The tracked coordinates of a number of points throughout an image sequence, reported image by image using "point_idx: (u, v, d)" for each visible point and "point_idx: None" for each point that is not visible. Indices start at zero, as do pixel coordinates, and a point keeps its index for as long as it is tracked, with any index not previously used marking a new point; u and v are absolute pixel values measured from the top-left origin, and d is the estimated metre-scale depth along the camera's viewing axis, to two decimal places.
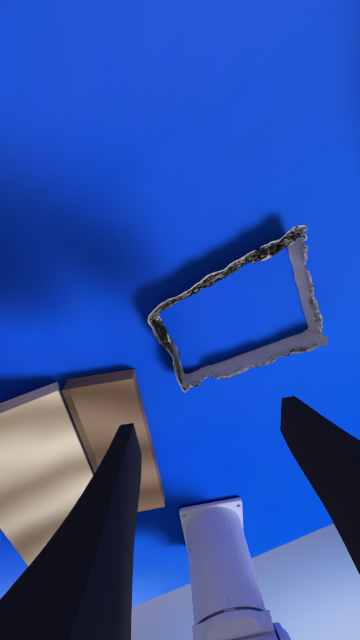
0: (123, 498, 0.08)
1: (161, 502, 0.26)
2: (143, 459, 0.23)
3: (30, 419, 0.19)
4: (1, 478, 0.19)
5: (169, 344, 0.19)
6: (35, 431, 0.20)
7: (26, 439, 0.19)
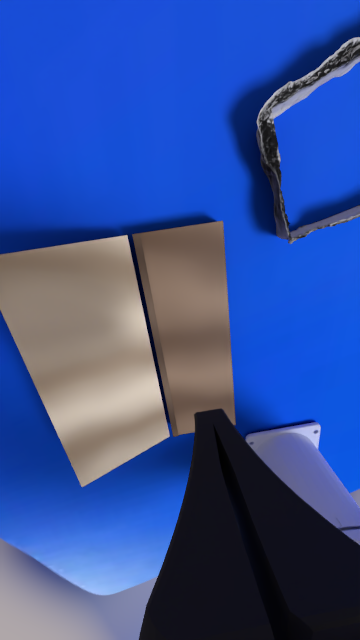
0: None
1: (232, 418, 0.22)
2: (219, 352, 0.19)
3: (93, 268, 0.15)
4: (55, 346, 0.15)
5: (278, 165, 0.14)
6: (98, 288, 0.15)
7: (87, 297, 0.15)
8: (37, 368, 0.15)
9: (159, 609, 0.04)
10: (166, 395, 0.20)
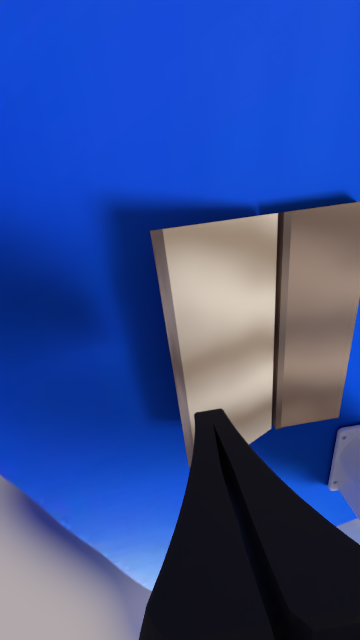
0: None
1: (337, 410, 0.21)
2: (340, 340, 0.18)
3: (247, 247, 0.14)
4: (205, 329, 0.14)
5: None
6: (246, 268, 0.14)
7: (237, 277, 0.14)
8: (187, 351, 0.14)
9: (158, 610, 0.04)
10: (278, 385, 0.19)
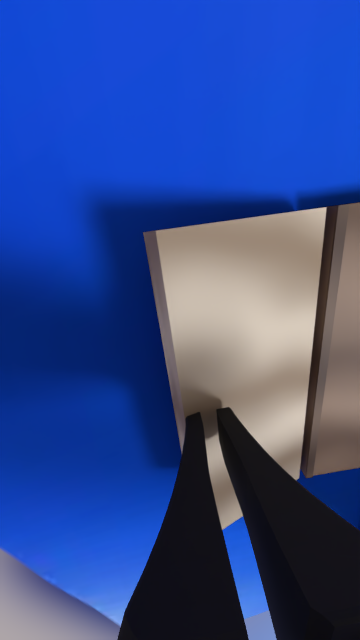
0: None
1: None
2: None
3: (280, 254, 0.10)
4: (216, 365, 0.10)
5: None
6: (278, 284, 0.10)
7: (264, 296, 0.10)
8: (191, 394, 0.10)
9: (137, 614, 0.04)
10: (313, 428, 0.15)
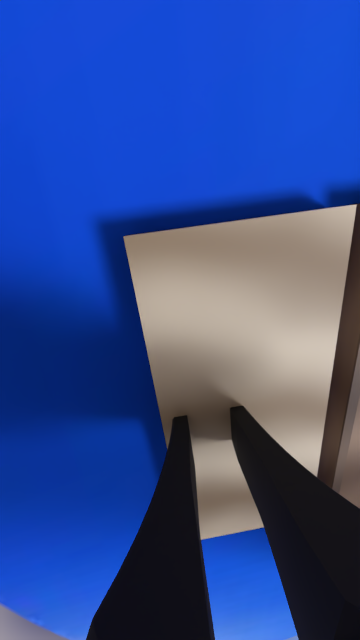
0: (193, 486, 0.08)
1: None
2: None
3: (281, 263, 0.08)
4: (197, 375, 0.10)
5: None
6: (278, 297, 0.09)
7: (258, 309, 0.09)
8: (168, 399, 0.10)
9: (104, 620, 0.04)
10: (338, 464, 0.13)
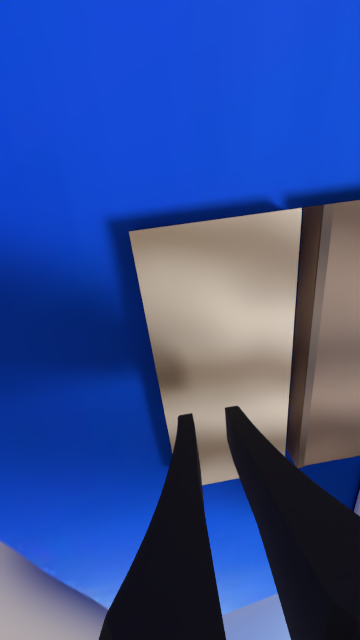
0: (200, 484, 0.08)
1: None
2: None
3: (247, 252, 0.11)
4: (185, 341, 0.13)
5: None
6: (246, 278, 0.12)
7: (231, 288, 0.12)
8: (163, 361, 0.13)
9: (117, 617, 0.04)
10: (303, 419, 0.16)
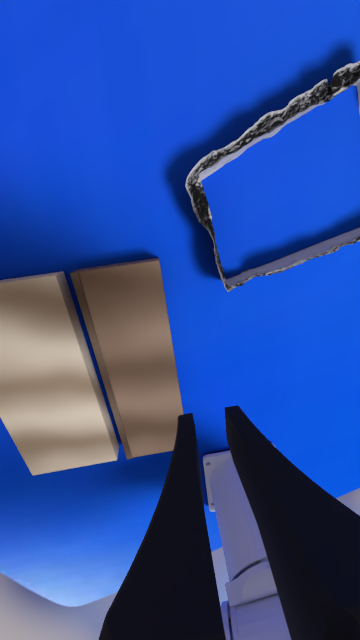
0: (200, 484, 0.08)
1: None
2: (166, 380, 0.19)
3: (25, 304, 0.16)
4: None
5: (210, 222, 0.15)
6: (31, 321, 0.16)
7: (21, 327, 0.17)
8: None
9: (117, 617, 0.04)
10: (116, 421, 0.20)
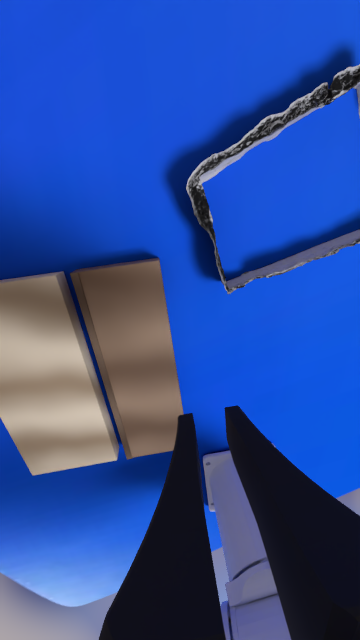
0: (200, 484, 0.08)
1: None
2: (166, 380, 0.19)
3: (25, 304, 0.16)
4: None
5: (211, 225, 0.15)
6: (31, 321, 0.16)
7: (21, 327, 0.17)
8: None
9: (117, 617, 0.04)
10: (116, 421, 0.20)
